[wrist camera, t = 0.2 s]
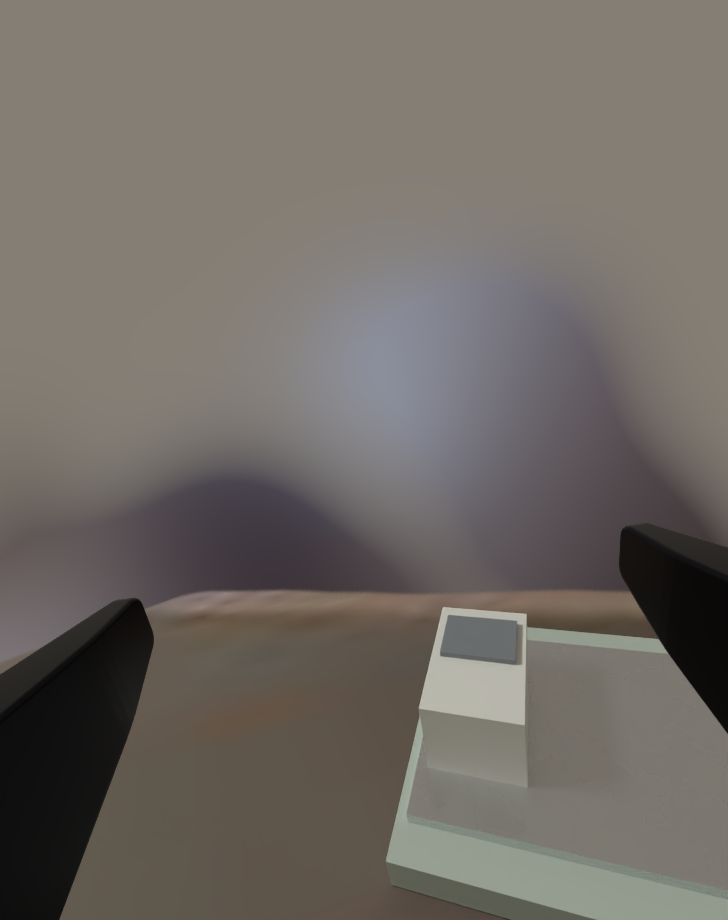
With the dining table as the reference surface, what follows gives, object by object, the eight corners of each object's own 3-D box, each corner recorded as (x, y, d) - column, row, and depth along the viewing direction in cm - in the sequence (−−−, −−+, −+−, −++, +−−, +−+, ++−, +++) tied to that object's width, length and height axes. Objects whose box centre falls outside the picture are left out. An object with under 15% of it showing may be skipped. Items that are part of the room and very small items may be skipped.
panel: (979, 694, 21) (990, 669, 21) (1469, 1200, 10) (1522, 1175, 10) (444, 638, 30) (442, 619, 29) (391, 884, 18) (385, 861, 18)
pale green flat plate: (1003, 696, 20) (1008, 687, 20) (1370, 1055, 11) (1382, 1045, 11) (446, 638, 28) (445, 631, 27) (407, 822, 19) (406, 814, 19)
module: (528, 669, 24) (526, 609, 23) (527, 787, 19) (524, 720, 18) (449, 659, 26) (442, 603, 24) (428, 767, 20) (418, 704, 19)
